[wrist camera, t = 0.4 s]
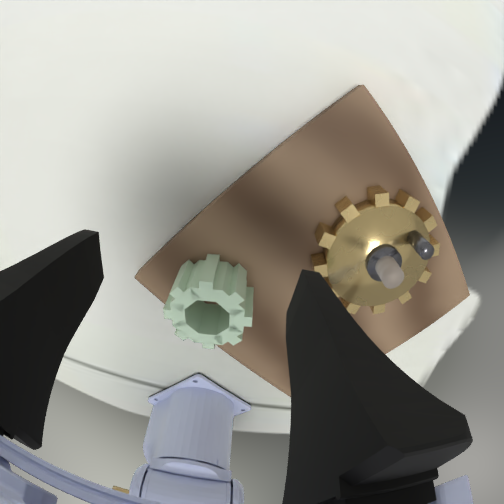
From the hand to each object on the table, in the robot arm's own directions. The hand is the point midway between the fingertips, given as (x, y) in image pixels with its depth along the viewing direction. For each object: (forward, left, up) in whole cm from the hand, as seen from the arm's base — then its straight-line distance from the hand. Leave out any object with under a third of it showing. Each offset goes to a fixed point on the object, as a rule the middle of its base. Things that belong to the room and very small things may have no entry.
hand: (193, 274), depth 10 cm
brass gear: (+5, -9, -9) cm, 14 cm away
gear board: (+1, -10, -10) cm, 14 cm away
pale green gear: (-5, -4, -9) cm, 11 cm away
